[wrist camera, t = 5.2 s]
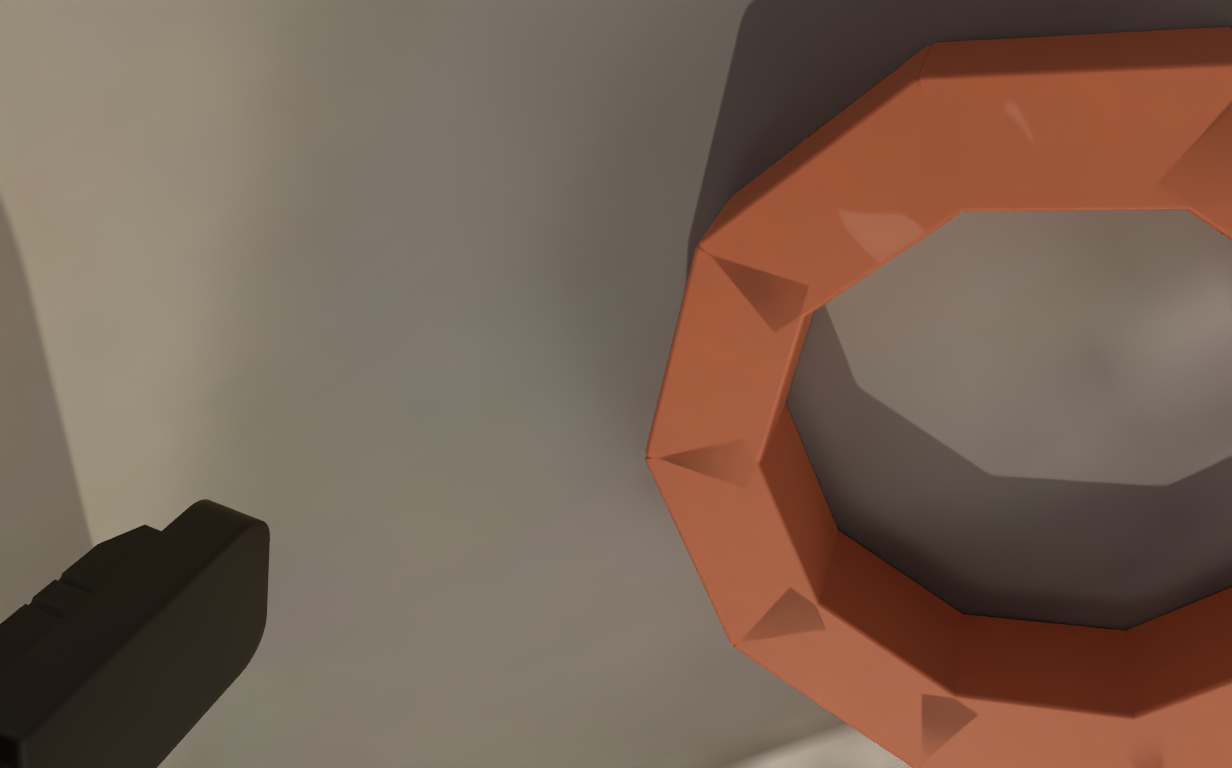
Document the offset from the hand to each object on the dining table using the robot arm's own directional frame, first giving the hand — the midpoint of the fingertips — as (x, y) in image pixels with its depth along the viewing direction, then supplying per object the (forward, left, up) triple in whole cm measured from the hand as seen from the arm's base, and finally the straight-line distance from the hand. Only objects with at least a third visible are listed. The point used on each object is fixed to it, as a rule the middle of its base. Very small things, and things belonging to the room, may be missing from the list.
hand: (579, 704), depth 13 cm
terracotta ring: (+5, 0, -10) cm, 12 cm away
